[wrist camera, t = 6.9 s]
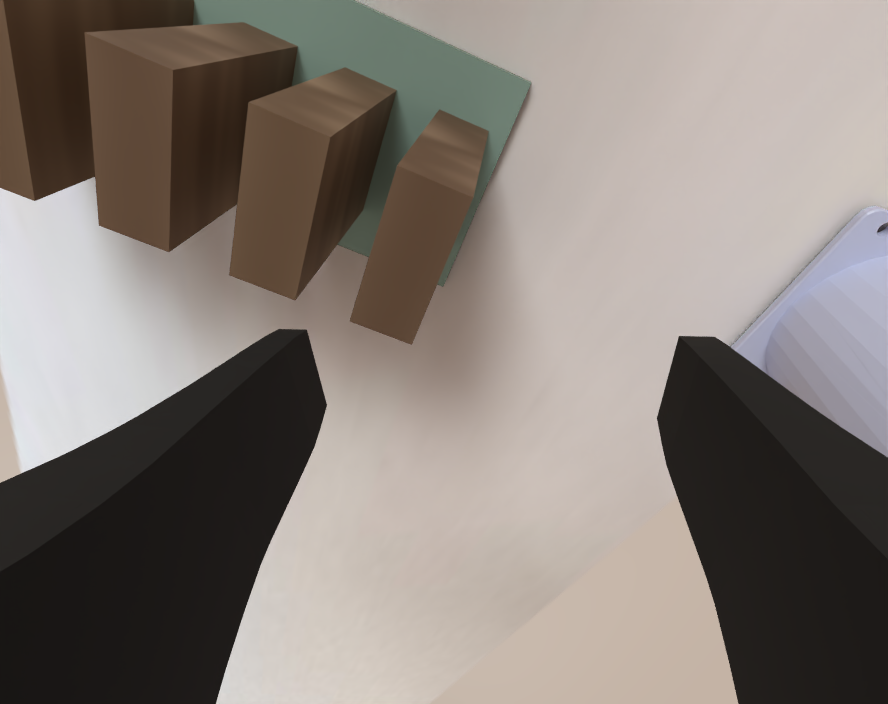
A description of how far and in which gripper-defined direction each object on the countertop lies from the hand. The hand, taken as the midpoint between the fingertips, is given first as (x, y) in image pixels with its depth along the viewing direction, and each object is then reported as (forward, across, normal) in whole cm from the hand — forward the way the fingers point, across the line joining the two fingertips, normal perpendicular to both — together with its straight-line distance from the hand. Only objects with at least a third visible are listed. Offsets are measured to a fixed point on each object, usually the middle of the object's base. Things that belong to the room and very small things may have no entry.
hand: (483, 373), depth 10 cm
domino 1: (+10, +11, -5) cm, 16 cm away
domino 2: (+10, +8, -4) cm, 13 cm away
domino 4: (+10, +2, -1) cm, 10 cm away
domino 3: (+10, +5, -2) cm, 11 cm away
